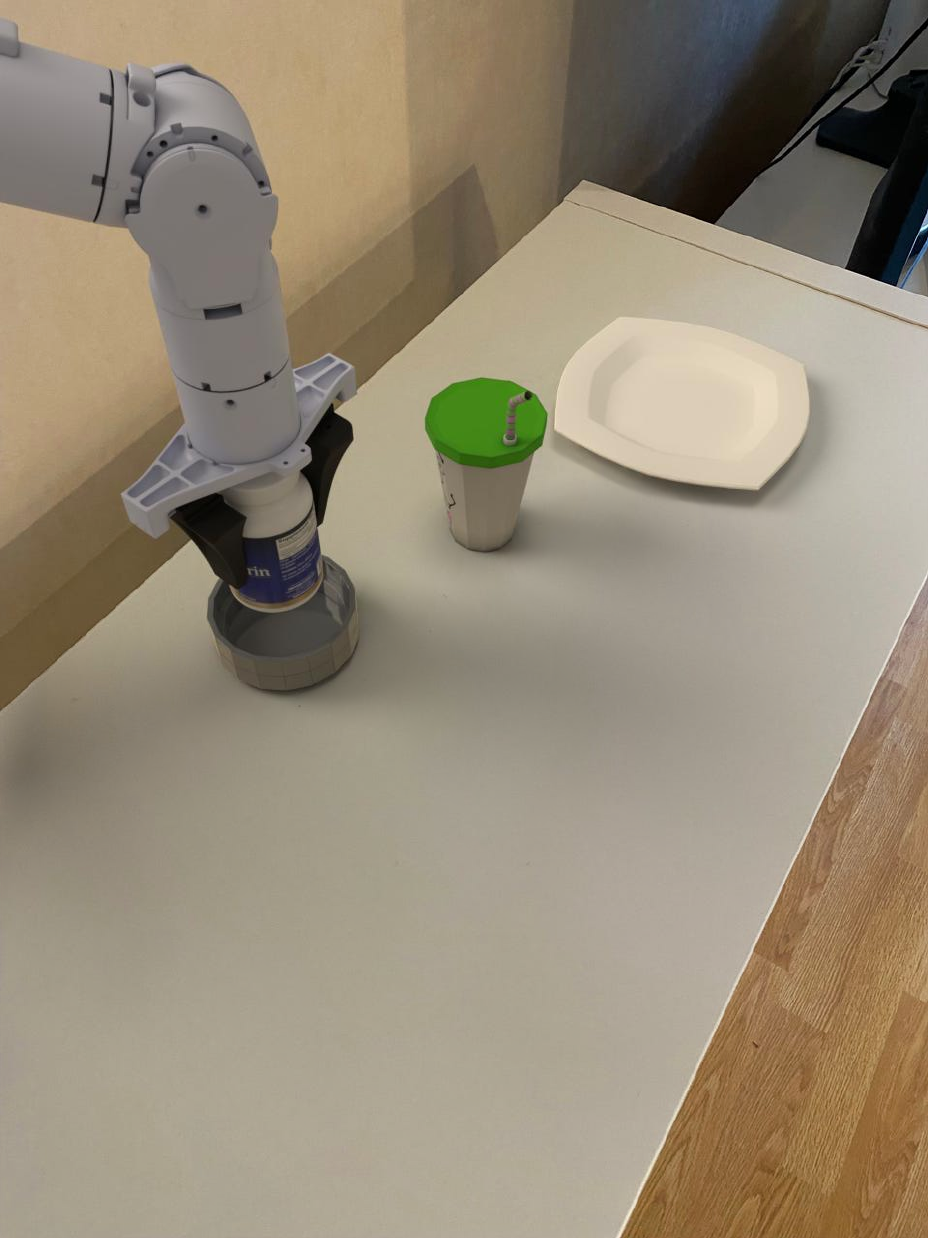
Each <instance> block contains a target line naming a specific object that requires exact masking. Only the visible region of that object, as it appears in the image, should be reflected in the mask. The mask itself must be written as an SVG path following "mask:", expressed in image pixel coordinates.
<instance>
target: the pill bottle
mask: <svg viewBox="0 0 928 1238" xmlns="http://www.w3.org/2000/svg"><path fill="white" fill-rule="evenodd" d="M217 493H218V494H220V495H221V494H222V495H223V497H224V501H225V503H226V504H228V505H229V506H231V507H232V508H234V509H235V510H237V511H238V512H240V513H241V514H243V515H244V516H246V517H247V519H246V522H245V525H244V529H243V537H242V550H243V556H244V560H245V565H246V569H247V583H246V584H245V585H244V586H243V587H241V588H240V589H235V588H233V587H232V586H231V585H229V586H230V589H231V591H232V593H233V595H234V596H235V597H236V599H237V600H238V601H240V602H241V603H242V604H244V605H245V606H247V607H249V608H251V609H254V610H257V611H261V612H269V613H275V612H283V611H288V610H291V609H294V608H296V607H298V606H300V605H302V604H304V603H305V602H307V601H308V600H309V599H310V598H311V597H312V596H313V595H314V594H315V593H316V592H317V590H318V588H319V587H320V584H321V582H322V578H323V563H322V555H323V554H322V549H321V543H320V536H319V535H320V534H319V529H318V527H317V521H316V515H315V507H314V501H313V494H312V490H311V487H310V484H309V482H308V480H307V479H306V477H305V476H304V475H303V474H302V473H301V472H300V471H298V472H297V473H295V474H294V475H292V476H290V477H282V476H279V475H278V474H276V473H274V472H269V473H266V474H263V475H261V476H258V477H255V478H253V479H250V480H247V481H245V482H242V483H239V484H237V485H234V486H232V487H229V488H226V489H224V490H221V491H218V492H217Z"/></svg>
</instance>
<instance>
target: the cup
mask: <svg viewBox="0 0 928 1238" xmlns="http://www.w3.org/2000/svg"><path fill="white" fill-rule="evenodd" d="M548 415H549V414H548V412H547V410H546V409H545V407H544V405H543V404H542V402H541V400H540V399H539V397H538V395H537V394H536V393H534V392H532V391H530V390H529V389H527V388H525V387H523V386H521V385H520V384H518V383H516V382H514V381H511V380H507V379H497V378H491V377H490V378H489V377H482V376H481V377H476V378H472V379H467V380H461V381H458V382H453V383H451V384H449V385H448V386H447V387H445V388H444V389H442V390H441V391H440V392H438V393H437V394H435V395H434V396H432V397H431V398H430V402H429V404H428V407H427V411H426V414H425V416H424V430H425V432H426V434H427V436H428V438H429V441H430V443H431V445H432V447H433V449H434V451H435V457H436V461H437V468H438V472H439V479H440V482H441V483H440V484H441V489H442V493H443V498H444V505H445V510H446V514H447V520H448V524H449V530H450V532H451V534H452V537H453V539H454V541H455V542H456V543H458V544H459V545H461V546H462V547H464V548H465V549H467V550H469V551H475V552H481V553H487V552H492V551H495V550H501V549H502V548H503V547H504V546H505V545H507V544H508V543H509V542H511V540H512V539H513V536H514V531H515V529H516V524H517V520H518V516H519V513H520V509H521V505H522V501H523V497H524V494H525V488H526V485H527V483H528V479H529V473H530V470H531V467H532V463H533V458H534V455H535V452H536V451H537V450H539V449H540V448H542V446H543V443H544V439H545V434H546V430H547V425H548Z"/></svg>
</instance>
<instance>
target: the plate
mask: <svg viewBox="0 0 928 1238" xmlns="http://www.w3.org/2000/svg"><path fill="white" fill-rule="evenodd" d="M810 417H811V397H810V390H809V384H808V377H807V373H806V367H805V365H804V363H802V362H800V361H798V360H796V359H794V358H791V357H790V356H787V355H786V354H784V353H781V352H779V351H776V350H774V349H772V348H770V347H768V346H766V345H764V344H760V343H758V342H756V341H753V340H751V339H748V338H746V337H743V336H740V335H738V334H735V333H731V332H729V331H725V330H722V329H719V328H716V327H711V326H705V325H701V324H696V323H690V322H683V321H675V320H666V319H658V318H657V319H656V318H648V317H647V318H646V317H645V318H644V317H631V316H630V317H629V316H619V317H617V318H616V319H614V320H613V321H611V322H610V323H609V324H608V325H605V327H603V328H602V329H601V330H599V331H598V332H597V333H596V334H595V335H593V336H592V337H590V338H589V339H588V340H587V341H586V342H585V343H584V344H582V346H581V347H580V348H578V349H577V351H576V352H575V353H574V354H573V355H572V357H571V358H570V360H568V362H567V364H566V365H565V367H564V369H563V371H562V374H561V376H560V379H559V382H558V388H557V391H556V399H555V409H554V425H553V429H554V432H556V433H557V434H558V435H561V436H562V437H564V438H566V439H568V440H570V441H571V442H573V443H575V444H577V445H578V446H580V447H582V448H585V450H588V451H590V452H592V453H594V454H596V455H597V456H599V457H601V458H604V459H606V460H609V461H610V462H612V463H614V464H617V465H619V466H622V467H624V468H627V469H629V470H632V471H634V472H637V473H640V474H643V475H645V476H650V477H654V478H658V479H663V480H666V481H671V482H678V483H684V484H691V485H696V486H703V487H712V488H713V487H714V488H722V489H723V488H724V489H733V490H747V491H759V490H760V489H761V488H763V486H764V485H765V484H766V483H767V482H768V481H769V480H770V479H771V478H773V476H775V474H777V472H779V470H781V468H782V467H784V465H785V464H786V463H787V462H788V461H789V460H790V458H791V457H792V456H793V454H794V453H795V452H796V450H797V449H798V448H799V446H800V445H801V443H802V441H803V439H804V437H805V435H806V433H807V431H808V426H809V423H810Z"/></svg>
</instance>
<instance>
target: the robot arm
mask: <svg viewBox="0 0 928 1238" xmlns="http://www.w3.org/2000/svg"><path fill="white" fill-rule="evenodd" d="M0 203H2V204H6V205H11V206H14V207H19V208H25V209H27V210H33V211H37V212H41V213H47V214H50V215H54V216H60V217H64V218H68V219H73V220H77V221H82V222H86V223H93V224H96V225H100V226H103V227H104V226H105V227H109V228H119V229H126V230H127V229H128V231H129V233H130V236H131V237H132V238H133V240H134V241H135V243H136V244H137V245H138V247H139V248H140V249H141V250H142V251H143V252H144V253H145V254H146V255H147V257H148V260H149V264H150V266H149V270H148V285H149V289H150V290H149V291H150V293H151V294H150V295H151V297H152V302H153V305H154V309H155V313H156V316H157V320H158V324H159V328H160V331H161V332H160V333H161V335H162V340H163V343H164V348H165V351H166V355H167V359H168V362H169V367H170V370H171V373H172V374H171V375H172V378H173V382H174V386H175V389H176V392H177V393H176V394H177V396H178V401H179V405H180V408H181V413H182V416H183V421H184V423H183V424H182V425H181V426H180V427H179V429H178V431H177V432H176V433H174V436H173V437H172V438H171V439H170V441H169V442H168V443H167V444H166V445H165V447H164V448H163V450H162V451H161V452H160V453H159V454H158V456H157V457H156V459H154V461H153V462H152V464H150V466H149V467H148V468H147V469H146V471H145V472H144V473H143V474H142V475H141V477H139V479H137V480H136V481H135V482H134V483H133V484H132V485H130V486H129V487H128V488H127V489H125V490H124V491H122V492H121V493H120V497H121V499H122V502H123V505H124V508H125V511H126V514H127V518H128V520H129V522H130V523H132V525H135V526H136V527H137V528H138V529H140V530H141V531H142V532H144V533H145V534H147V535H149V537H152V538H153V539H155V540H156V539H158V538H159V537H161V536H162V535H163V534H165V533H166V532H167V531H169V530H170V529H171V524H170V521H169V518H170V520H171V521H172V522H173V523H175V524H176V525H177V526H178V527H179V528H180V529H181V530H182V531H183V532H184V533H185V534H186V535H187V537H189V539H190V540H191V541H192V542H193V543H194V544H195V546H196V547H197V548H198V550H199V552H201V554H202V555H203V557H204V558H205V560H206V561H207V563H208V564H209V567H210V568H211V570H212V572H213V573H214V575H215V576H216V577H218V579H219V578H221V579H222V580H223V581H225V582H226V583H228V584H229V585H231V586H232V587H233V588H235V589H240V588H241V587H243V586H244V585H245V584H246V583H247V569H246V565H245V560H244V556H243V550H242V537H243V529H244V525H245V522H246V519H247V517H246V516H244V515H243V514H241V513H240V512H238V511H237V510H235V509H234V508H232V507H231V506H229V505H228V504H226V503H225V501H224V497H223V495H222V494H221V495H220V494H218V493H217V492H218V491H221V490H224V489H226V488H229V487H232V486H234V485H237V484H239V483H242V482H245V481H247V480H250V479H253V478H255V477H258V476H261V475H263V474H266V473H269V472H274V473H276V474H278V475H279V476H282V477H290V476H292V475H294V474H295V473H297V472H298V471H300V472H301V473H302V474H303V475H304V476H305V477H306V479H307V480H308V482H309V484H310V487H311V490H312V494H313V501H314V507H315V515H316V521H317V528H318V527H320V526H321V525H323V523H324V521H325V516H326V512H327V511H326V510H327V507H328V506H327V505H328V501H329V497H330V492H331V488H332V484H333V482H334V478H335V475H336V473H337V470H338V468H339V465H340V464H341V461H342V460H343V457H344V456H345V454H346V452H347V451H348V449H349V447H350V446H351V444H352V443H353V442H354V429H353V428H354V427H353V424H352V422H351V421H350V420H348V418H345V417H343V416H342V415H340V414H338V413H337V412H335V405H334V403H333V402H334V401H335V400H338V401H339V402H342V403H347V402H349V400H351V399H353V398H354V397H355V396H356V395H358V389H357V379H356V367H355V366H354V365H353V364H351V363H349V362H347V361H346V360H343V359H342V358H340V357H338V356H336V355H334V354H332V353H331V352H327V353H326V354H324V355H323V356H321V357H320V358H318V359H315V360H314V361H311V362H310V363H309V362H308V363H307V364H304V365H302V366H299V367H296V368H293V361H292V355H291V354H292V353H291V346H290V340H289V333H288V325H287V321H286V319H287V318H286V312H285V305H284V298H283V292H282V287H281V279H280V271H279V266H278V262H277V261H276V260H277V259H276V258H275V256H274V254H273V253H272V248H273V247H272V246H273V237H272V235H273V233H274V231H275V229H276V225H277V222H278V217H279V197H278V195H277V194H275V193H273V191H272V186H271V181H270V177H269V174H268V171H267V168H266V165H265V162H264V159H263V158H262V154H261V151H260V148H259V145H258V142H257V139H256V137H255V133H254V131H253V128H252V125H251V122H250V120H249V117H248V116H247V113H246V112H245V110H244V109H243V107H242V106H241V104H240V102H239V101H238V100H237V98H236V97H235V95H234V94H233V93H232V92H231V91H230V90H229V89H228V88H227V87H226V85H224V84H222V83H221V82H220V81H218V80H217V79H215V78H213V77H212V76H210V75H207V74H205V73H204V72H203V73H202V72H200V71H198V70H197V69H195V68H194V67H193V66H192V65H191V64H189V63H187V62H165V63H161V64H158V65H154V66H151V67H146V66H144V65H140V64H137V63H134V62H131V61H129V62H127V63H126V67H125V72H123V71H122V70H119V69H115V68H111V67H108V66H105V65H102V64H99V63H94V62H91V61H88V60H84V59H81V58H78V57H75V56H71V55H68V54H64V53H60V52H57V51H55V50H51V49H47V48H44V47H41V46H37V45H34V44H31V43H27V42H25V41H21V40H20V39H19V26H18V24H17V23H16V22H15V21H14V20H12V19H11V20H10V19H7V18H3V17H0Z"/></svg>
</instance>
